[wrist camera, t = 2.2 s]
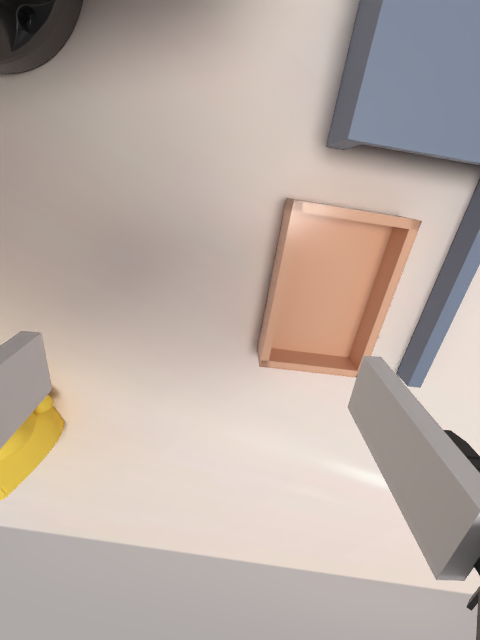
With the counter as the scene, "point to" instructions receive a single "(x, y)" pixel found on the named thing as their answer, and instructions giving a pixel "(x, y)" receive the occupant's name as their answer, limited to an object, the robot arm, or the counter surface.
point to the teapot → (29, 445)
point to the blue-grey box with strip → (419, 124)
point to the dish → (331, 286)
